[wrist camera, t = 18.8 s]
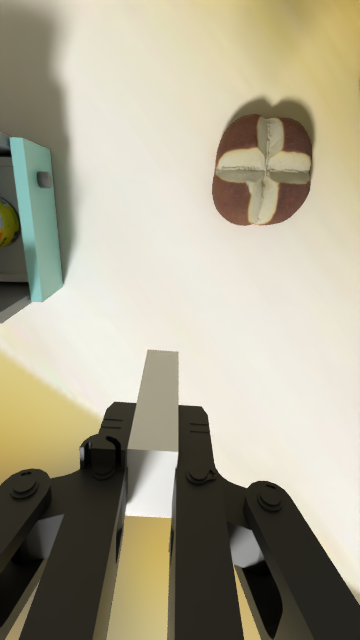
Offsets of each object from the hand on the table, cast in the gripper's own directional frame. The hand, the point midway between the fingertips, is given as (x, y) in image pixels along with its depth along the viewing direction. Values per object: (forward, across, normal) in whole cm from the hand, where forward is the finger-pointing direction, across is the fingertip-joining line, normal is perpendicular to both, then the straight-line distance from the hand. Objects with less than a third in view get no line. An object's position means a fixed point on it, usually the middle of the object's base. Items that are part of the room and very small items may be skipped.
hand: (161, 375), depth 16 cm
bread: (+27, +9, +12) cm, 31 cm away
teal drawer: (+26, -21, +4) cm, 33 cm away
